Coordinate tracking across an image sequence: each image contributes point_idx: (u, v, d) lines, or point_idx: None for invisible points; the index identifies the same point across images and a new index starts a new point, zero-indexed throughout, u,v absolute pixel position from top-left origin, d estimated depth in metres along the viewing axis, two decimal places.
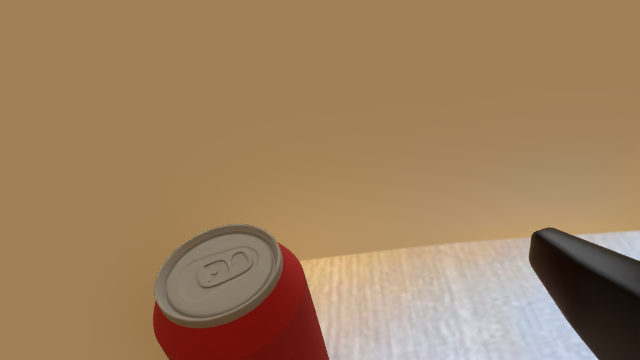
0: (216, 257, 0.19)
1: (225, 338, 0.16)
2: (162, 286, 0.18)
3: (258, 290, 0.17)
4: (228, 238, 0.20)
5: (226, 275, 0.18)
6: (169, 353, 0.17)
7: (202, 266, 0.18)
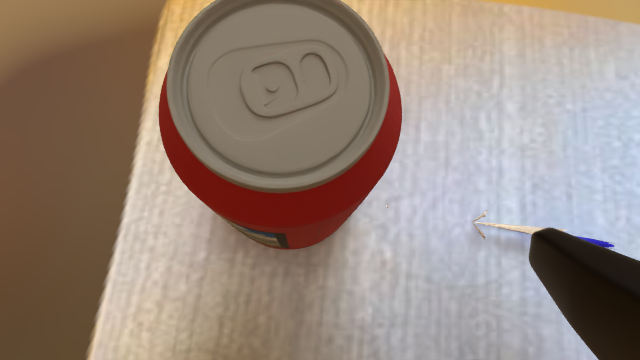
0: (272, 52, 0.11)
1: (295, 205, 0.11)
2: (181, 95, 0.10)
3: (350, 141, 0.10)
4: (288, 13, 0.11)
5: (294, 97, 0.10)
6: (198, 196, 0.11)
7: (248, 67, 0.11)
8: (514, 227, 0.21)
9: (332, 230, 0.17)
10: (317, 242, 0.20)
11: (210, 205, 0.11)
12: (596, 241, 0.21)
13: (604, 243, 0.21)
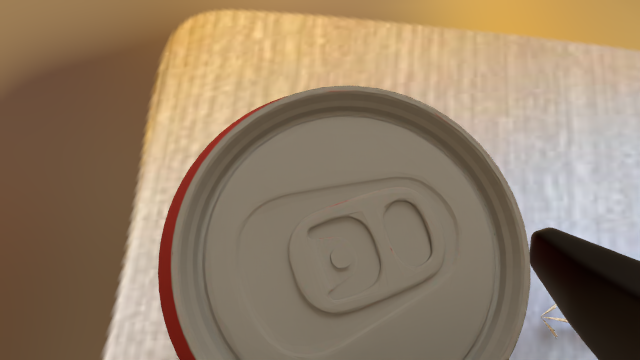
0: (337, 199, 0.07)
1: None
2: (194, 276, 0.06)
3: (468, 349, 0.06)
4: (360, 132, 0.07)
5: (376, 276, 0.07)
6: None
7: (301, 225, 0.07)
8: None
9: None
10: None
11: None
12: None
13: None
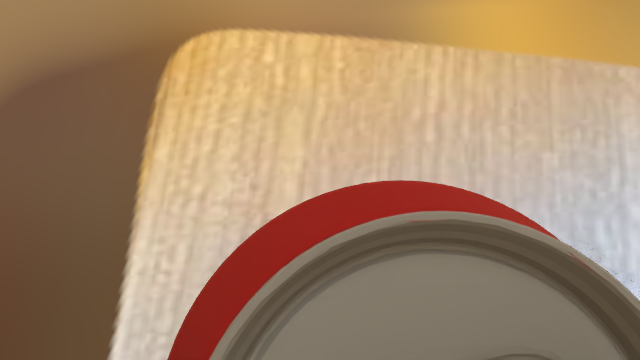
0: None
1: None
2: None
3: None
4: (456, 279, 0.05)
5: None
6: None
7: None
8: None
9: None
10: None
11: None
12: None
13: None
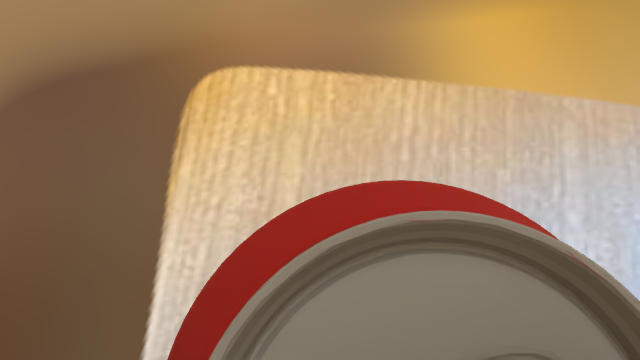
0: None
1: None
2: None
3: None
4: (455, 278, 0.05)
5: None
6: None
7: None
8: None
9: None
10: None
11: None
12: None
13: None
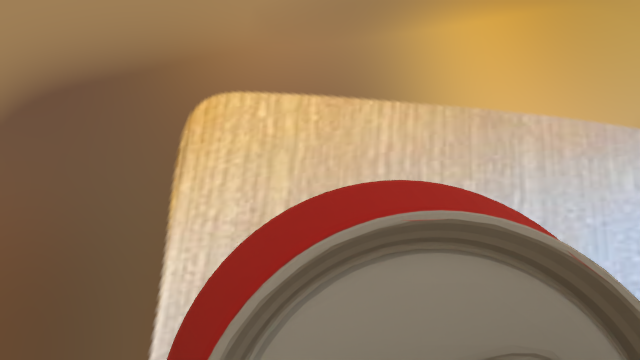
0: None
1: None
2: None
3: None
4: (455, 278, 0.05)
5: None
6: None
7: None
8: None
9: None
10: None
11: None
12: None
13: None
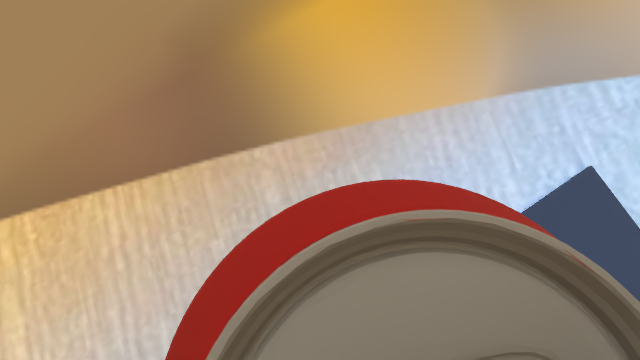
0: None
1: None
2: None
3: None
4: (453, 277, 0.05)
5: None
6: None
7: None
8: None
9: None
10: None
11: None
12: None
13: None
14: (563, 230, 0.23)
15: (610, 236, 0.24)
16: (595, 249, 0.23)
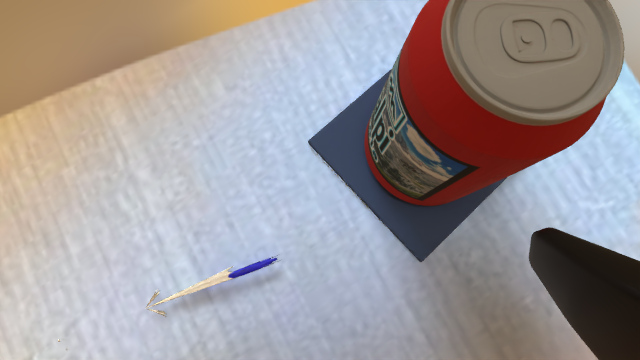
0: (528, 12, 0.13)
1: (521, 138, 0.13)
2: (452, 29, 0.13)
3: (582, 95, 0.13)
4: None
5: (542, 50, 0.13)
6: (432, 117, 0.14)
7: (508, 19, 0.13)
8: (184, 292, 0.22)
9: (481, 188, 0.19)
10: (443, 203, 0.22)
11: (441, 125, 0.14)
12: (259, 263, 0.22)
13: (267, 261, 0.22)
14: None
15: None
16: None
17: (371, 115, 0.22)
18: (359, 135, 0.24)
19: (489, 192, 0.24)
